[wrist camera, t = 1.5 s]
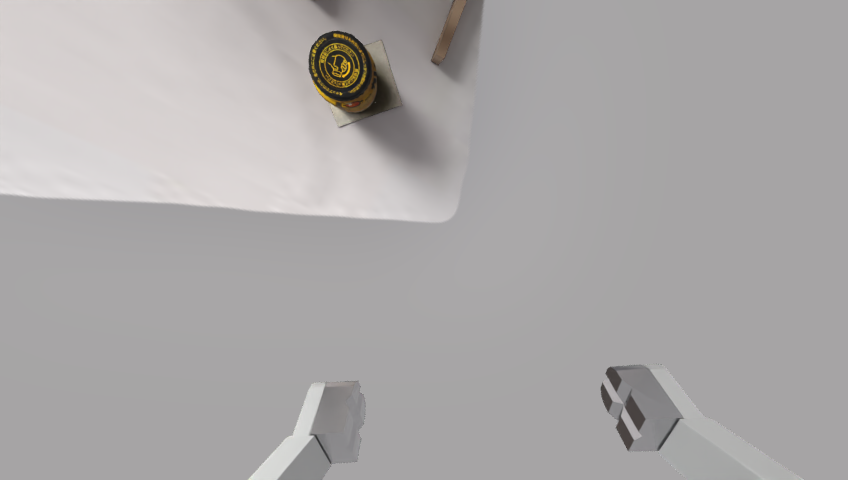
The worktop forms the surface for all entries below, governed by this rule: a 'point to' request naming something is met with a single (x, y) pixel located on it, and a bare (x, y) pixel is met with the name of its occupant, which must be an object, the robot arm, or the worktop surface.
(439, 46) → the box
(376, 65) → the condiment
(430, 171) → the worktop surface
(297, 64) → the worktop surface
